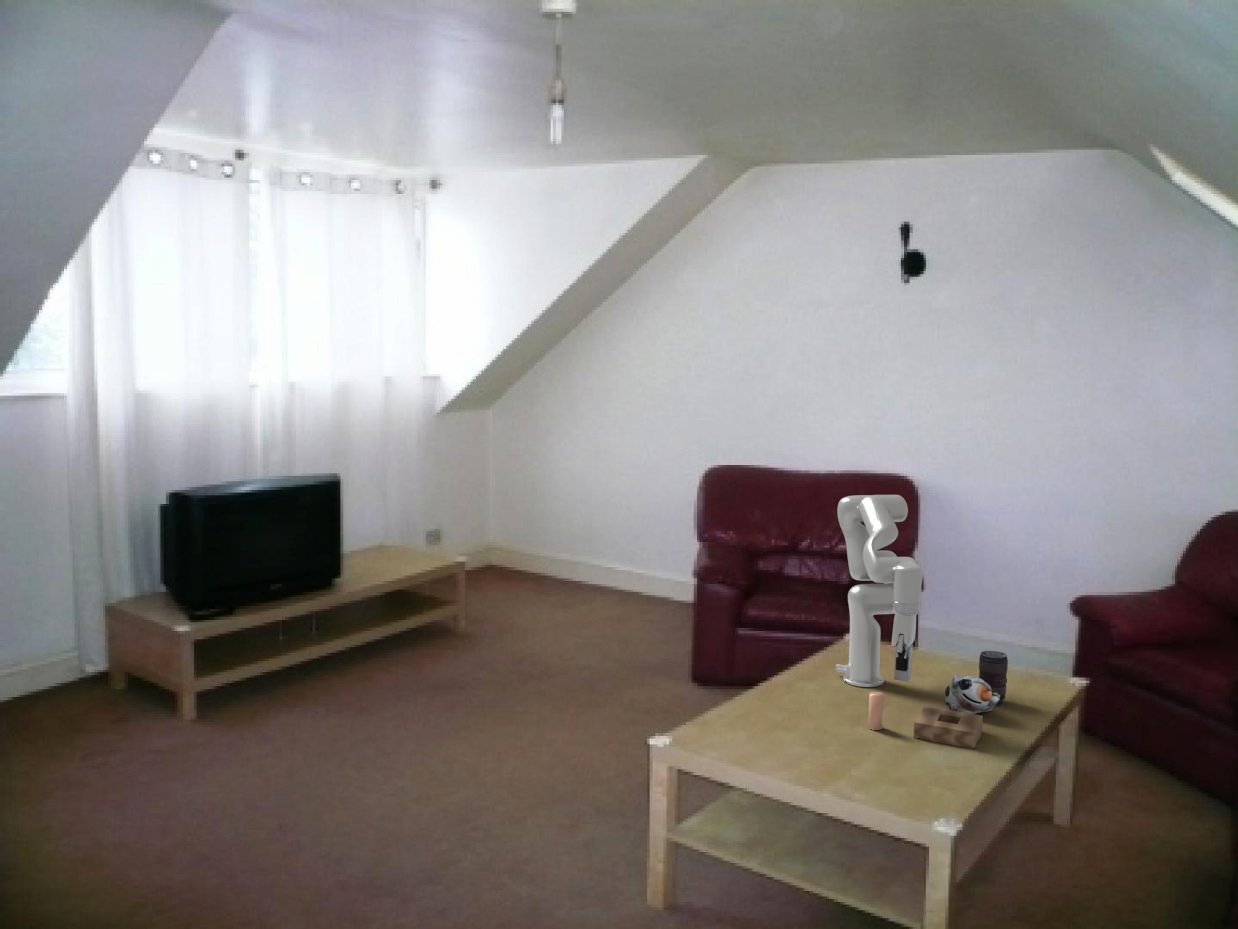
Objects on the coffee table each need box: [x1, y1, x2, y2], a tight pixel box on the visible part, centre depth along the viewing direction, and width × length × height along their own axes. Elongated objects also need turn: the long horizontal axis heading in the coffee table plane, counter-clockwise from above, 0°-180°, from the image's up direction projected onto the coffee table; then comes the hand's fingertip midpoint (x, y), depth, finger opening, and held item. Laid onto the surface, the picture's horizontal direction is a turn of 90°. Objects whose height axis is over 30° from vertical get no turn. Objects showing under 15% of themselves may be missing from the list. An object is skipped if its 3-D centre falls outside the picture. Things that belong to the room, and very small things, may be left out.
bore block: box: [913, 705, 984, 749], centre depth 286 cm, size 16×14×4 cm
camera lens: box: [978, 650, 1009, 706], centre depth 311 cm, size 8×8×15 cm
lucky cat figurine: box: [944, 675, 1000, 715], centre depth 303 cm, size 15×12×14 cm
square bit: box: [893, 643, 914, 683], centre depth 297 cm, size 4×4×10 cm
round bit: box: [867, 691, 885, 731], centre depth 290 cm, size 4×4×10 cm
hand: (903, 667), depth 297 cm, fingers closed on square bit, 4 cm apart
